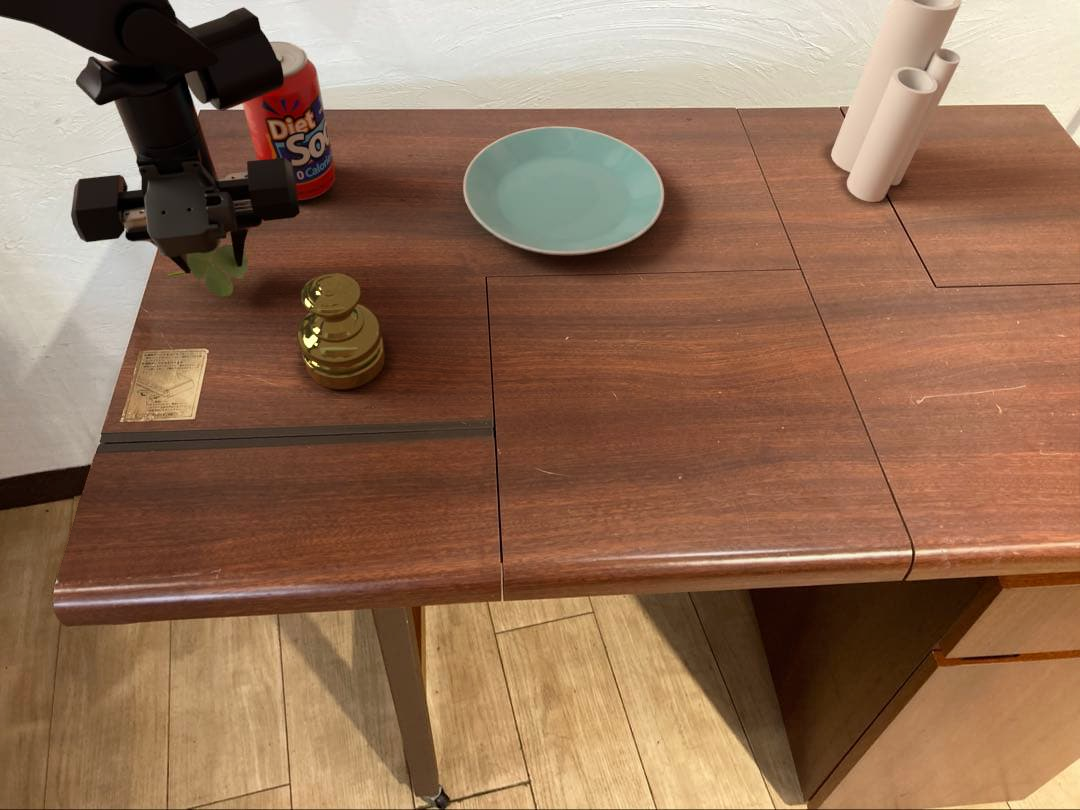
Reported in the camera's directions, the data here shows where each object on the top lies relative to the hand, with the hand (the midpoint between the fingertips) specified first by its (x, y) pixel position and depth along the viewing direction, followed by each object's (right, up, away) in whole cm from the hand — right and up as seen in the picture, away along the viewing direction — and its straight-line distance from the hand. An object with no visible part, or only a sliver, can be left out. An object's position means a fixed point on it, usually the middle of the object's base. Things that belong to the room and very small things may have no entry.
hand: (214, 267), depth 79 cm
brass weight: (+14, -9, -4) cm, 17 cm away
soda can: (+5, +11, +12) cm, 17 cm away
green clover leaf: (0, -1, +1) cm, 1 cm away
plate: (+35, +9, +12) cm, 37 cm away
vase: (+72, +15, +18) cm, 75 cm away
